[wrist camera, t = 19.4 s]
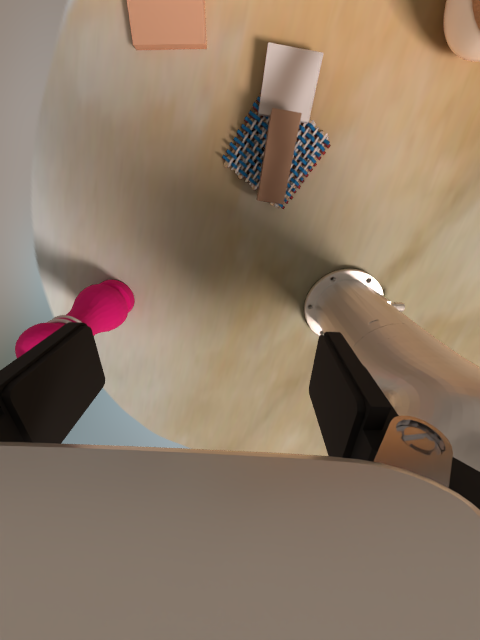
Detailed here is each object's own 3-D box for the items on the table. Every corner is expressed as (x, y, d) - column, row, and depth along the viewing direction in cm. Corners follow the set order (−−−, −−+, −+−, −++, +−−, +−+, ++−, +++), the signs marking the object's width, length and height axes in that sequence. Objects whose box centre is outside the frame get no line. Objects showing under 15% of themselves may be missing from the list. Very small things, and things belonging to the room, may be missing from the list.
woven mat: (280, 213, 36) (282, 214, 34) (219, 163, 34) (218, 161, 32) (332, 143, 32) (337, 140, 31) (268, 79, 30) (270, 72, 28)
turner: (322, 55, 27) (331, 37, 24) (289, 205, 34) (294, 206, 31) (267, 45, 27) (270, 25, 24) (246, 198, 34) (246, 198, 31)
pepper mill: (89, 275, 41) (-34, 339, 23) (133, 276, 40) (44, 342, 23) (100, 315, 44) (-1, 399, 26) (140, 316, 44) (67, 401, 26)
